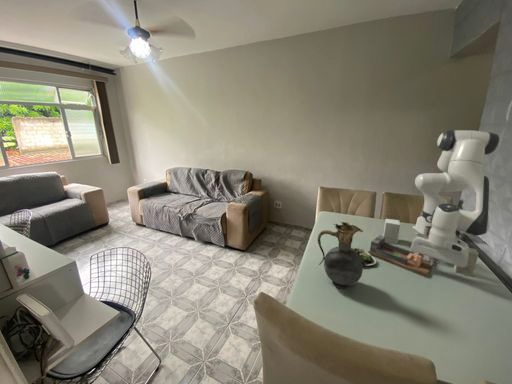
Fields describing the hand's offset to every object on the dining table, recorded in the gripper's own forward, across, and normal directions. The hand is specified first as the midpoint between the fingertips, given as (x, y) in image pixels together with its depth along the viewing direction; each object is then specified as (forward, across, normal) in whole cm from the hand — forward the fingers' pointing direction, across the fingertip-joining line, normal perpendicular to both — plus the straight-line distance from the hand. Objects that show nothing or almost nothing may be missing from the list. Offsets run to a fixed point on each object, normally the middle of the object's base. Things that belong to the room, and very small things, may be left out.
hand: (434, 266), depth 101 cm
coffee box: (+4, -4, +14) cm, 16 cm away
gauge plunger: (+2, -8, -1) cm, 8 cm away
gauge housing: (+4, -14, 0) cm, 15 cm away
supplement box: (+4, -25, +18) cm, 32 cm away
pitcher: (+4, -26, -40) cm, 48 cm away
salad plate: (+4, -29, -16) cm, 33 cm away
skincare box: (+4, +9, +10) cm, 14 cm away
